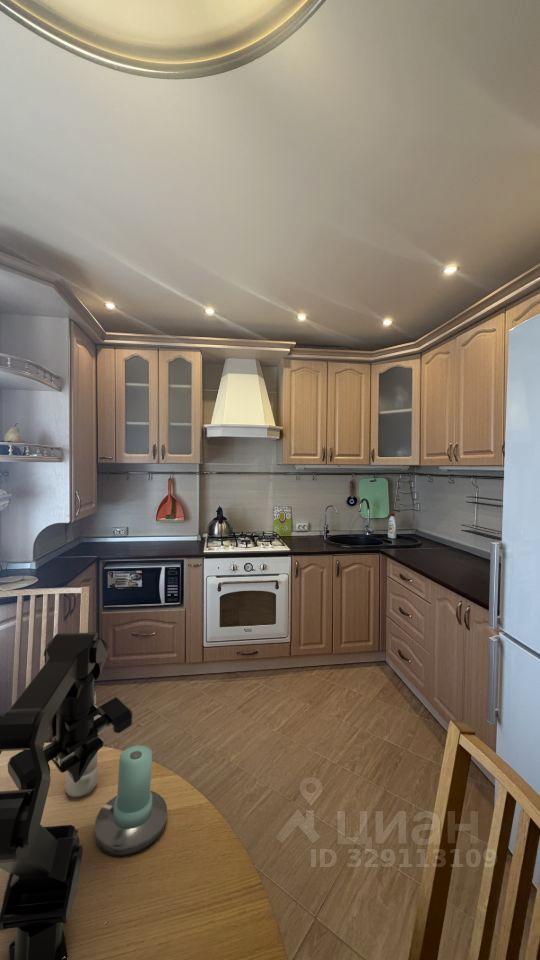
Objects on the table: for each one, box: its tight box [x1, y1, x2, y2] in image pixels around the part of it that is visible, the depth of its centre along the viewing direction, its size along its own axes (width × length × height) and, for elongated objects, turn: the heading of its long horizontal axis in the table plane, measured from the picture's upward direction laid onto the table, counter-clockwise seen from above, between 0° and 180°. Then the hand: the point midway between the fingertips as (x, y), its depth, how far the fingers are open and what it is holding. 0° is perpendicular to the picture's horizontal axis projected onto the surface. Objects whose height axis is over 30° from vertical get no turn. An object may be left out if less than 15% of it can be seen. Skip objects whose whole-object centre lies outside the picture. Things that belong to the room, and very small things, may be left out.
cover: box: [113, 745, 153, 829], centre depth 77 cm, size 7×7×11 cm
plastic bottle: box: [64, 691, 101, 798], centre depth 85 cm, size 6×7×20 cm
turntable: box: [94, 790, 168, 851], centre depth 76 cm, size 13×13×1 cm
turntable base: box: [95, 826, 165, 858], centre depth 76 cm, size 12×12×1 cm
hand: (75, 780), depth 69 cm, fingers closed
